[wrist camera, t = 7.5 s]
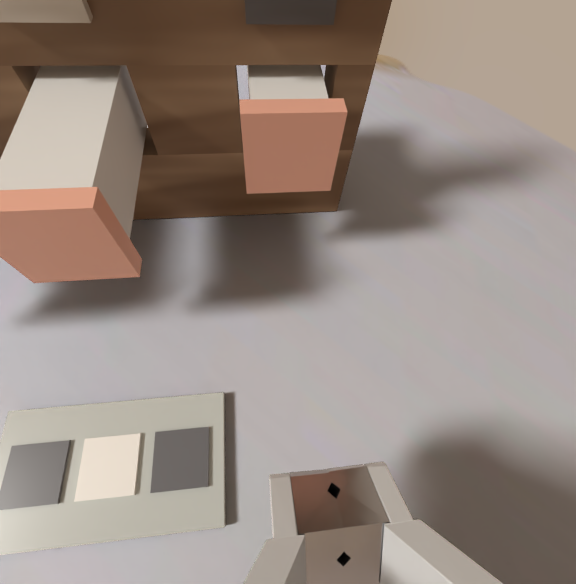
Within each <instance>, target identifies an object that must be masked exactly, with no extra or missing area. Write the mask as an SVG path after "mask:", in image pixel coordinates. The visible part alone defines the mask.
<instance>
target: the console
mask: <svg viewBox="0 0 576 584" xmlns="http://www.w3.org/2000/svg"><path fill="white" fill-rule="evenodd" d="M391 2H392V0H0V159H1V156H2V154H3V152H4V149H5V147H6V145H7V142H8V140H9V138H10V135H11V133H12V131H13V129H14V126H15V124H16V122H17V119H18V117H19V115H20V112H21V110H22V108H23V105H24V103H25V101H26V98H27V96H28V94H29V92H30V89H31V87H32V85H33V82H34V80H35V78H36V75H37V73H38V71H39V68H40V66H123V65H126V66H127V69H128V72H129V75H130V77H131V80H132V83H133V86H134V89H135V91H136V94H137V97H138V100H139V103H140V105H141V108H142V111H143V114H144V117H145V119H146V122H147V125H148V128H147V129H146V136H145V143H144V149H143V156H142V162H141V169H140V176H139V182H138V189H137V195H136V202H135V209H134V215H133V220H138V219H161V218H185V217H208V216H232V215H255V214H279V213H302V212H326V211H337V208H338V205H339V201H340V197H341V193H342V189H343V185H344V182H345V178H346V174H347V170H348V166H349V162H350V159H351V155H352V151H353V147H354V143H355V140H356V136H357V132H358V128H359V124H360V120H361V117H362V113H363V109H364V105H365V101H366V98H367V94H368V90H369V86H370V82H371V78H372V75H373V71H374V67H375V63H376V59H377V55H378V52H379V48H380V44H381V40H382V36H383V33H384V28H385V25H386V21H387V17H388V13H389V10H390V6H391ZM236 65H326V70H325V77H324V82H325V86H326V90H327V94H328V98H344V101H345V105H346V108H347V112H348V113H347V117H346V122H345V126H344V131H343V135H342V140H341V144H340V149H339V154H338V158H337V163H336V167H335V172H334V176H333V181H332V186H331V190H330V191H309V192H282V193H255V194H247V190H246V179H245V167H244V155H243V143H242V131H241V119H240V105H239V93H238V81H237V69H236Z"/></svg>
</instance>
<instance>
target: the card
mask: <svg viewBox="0 0 576 584" xmlns="http://www.w3.org/2000/svg"><path fill="white" fill-rule="evenodd" d="M225 526H226V513H225V395H224V392H221V393H210V394H198V395H187V396H176V397H165V398H153V399H142V400H131V401H119V402H108V403H97V404H86V405H74V406H63V407H52V408H40V409H29V410H18V411H9V412H8V415H7V419H6V422H5V426H4V430H3V433H2V437H1V440H0V555H6V554H14V553H22V552H30V551H38V550H46V549H54V548H62V547H70V546H78V545H86V544H94V543H103V542H111V541H119V540H127V539H135V538H143V537H151V536H159V535H167V534H175V533H183V532H191V531H199V530H207V529H215V528H224V527H225Z"/></svg>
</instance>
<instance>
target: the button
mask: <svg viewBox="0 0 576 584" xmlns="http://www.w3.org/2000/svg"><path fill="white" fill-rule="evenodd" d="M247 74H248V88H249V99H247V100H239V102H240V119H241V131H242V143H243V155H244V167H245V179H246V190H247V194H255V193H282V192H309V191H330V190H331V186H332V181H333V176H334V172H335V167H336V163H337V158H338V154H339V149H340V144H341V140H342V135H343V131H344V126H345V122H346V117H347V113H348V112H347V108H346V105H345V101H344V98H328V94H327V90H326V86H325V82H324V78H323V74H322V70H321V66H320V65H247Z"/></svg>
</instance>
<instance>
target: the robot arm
mask: <svg viewBox="0 0 576 584" xmlns="http://www.w3.org/2000/svg"><path fill="white" fill-rule="evenodd" d="M269 486H270V502H271V519H272V535H273V539H268V540H266V541H265V543H264V545H263V547H262V549H261V551H260V553H259V555H258V557H257V558H256V560H255V562H254V564H253V566H252V568H251V570H250V572H249V574H248V576H247V577H246V579H245V581H244V583H243V584H503V583H502V582H500V581H499V580H498V579H497V578H495V577H494V576H493V575H491V574H490V573H489V572H487V571H486V570H485V569H484V568H482V567H481V566H480V565H478V564H477V563H476V562H475V561H473V560H472V559H471V558H469V557H468V556H467V555H465V554H464V553H463V552H462V551H460V550H459V549H458V548H456V547H455V546H454V545H453V544H451V543H450V542H449V541H447V540H446V539H445V538H443V537H442V536H441V535H440V534H438V533H437V532H436V531H434V530H433V529H432V528H431V527H429V526H428V525H427V524H425V523H424V522H423V521H421V520H420V519H418V520H414V519H413V517H412V515H411V513H410V511H409V509H408V507H407V505H406V503H405V501H404V499H403V497H402V495H401V493H400V491H399V489H398V487H397V485H396V483H395V481H394V479H393V477H392V475H391V473H390V471H389V469H388V467H387V465H386V464H385V463H384V462H376V463H368V464H364V465H363V464H360V465H352V466H344V467H336V468H328V469H323V470H312V471H300V472H289V473H282V474H271V475H269Z"/></svg>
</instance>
